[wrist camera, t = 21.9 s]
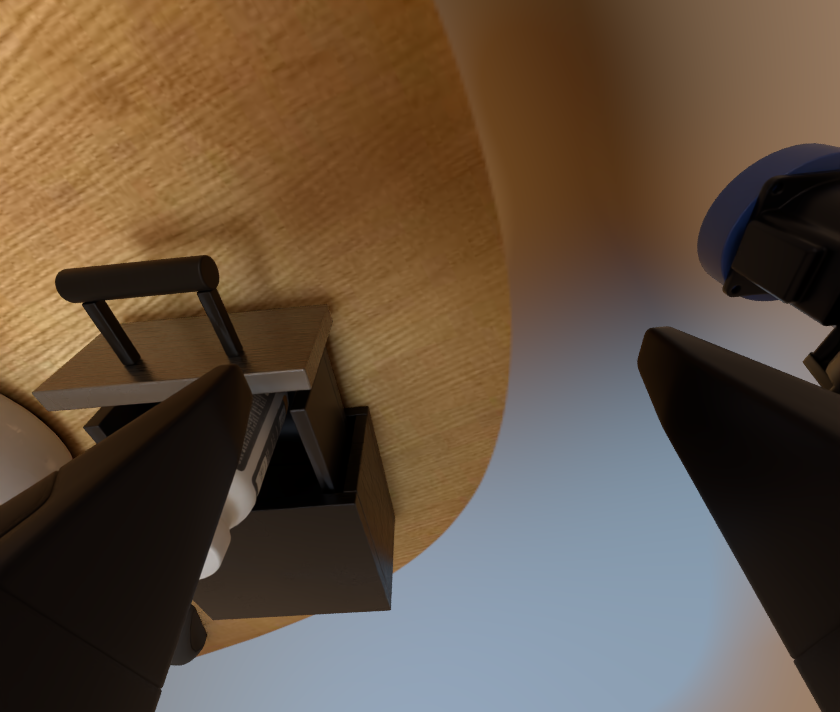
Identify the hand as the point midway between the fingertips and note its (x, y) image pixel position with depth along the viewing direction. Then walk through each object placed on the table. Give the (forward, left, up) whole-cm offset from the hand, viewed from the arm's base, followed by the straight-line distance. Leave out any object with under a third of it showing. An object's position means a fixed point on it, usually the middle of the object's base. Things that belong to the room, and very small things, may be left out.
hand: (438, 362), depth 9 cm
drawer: (+12, +9, -12) cm, 19 cm away
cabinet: (+12, +20, -13) cm, 27 cm away
